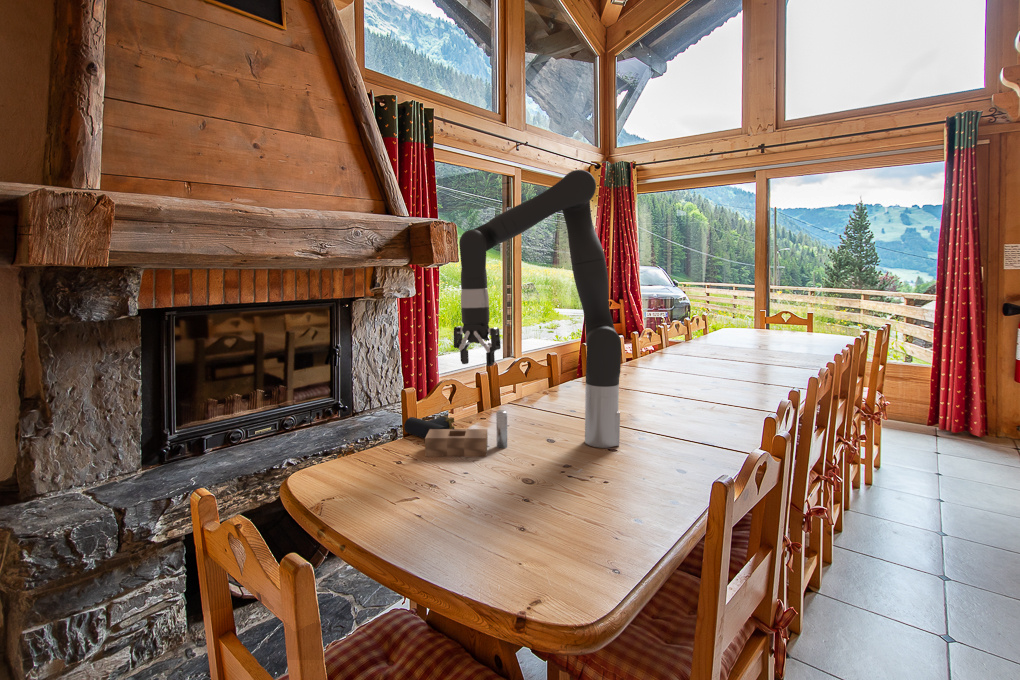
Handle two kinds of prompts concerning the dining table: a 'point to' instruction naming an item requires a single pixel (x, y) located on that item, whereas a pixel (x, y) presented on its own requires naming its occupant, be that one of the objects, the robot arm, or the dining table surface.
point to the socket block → (456, 443)
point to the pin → (501, 428)
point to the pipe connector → (427, 425)
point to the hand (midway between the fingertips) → (477, 364)
